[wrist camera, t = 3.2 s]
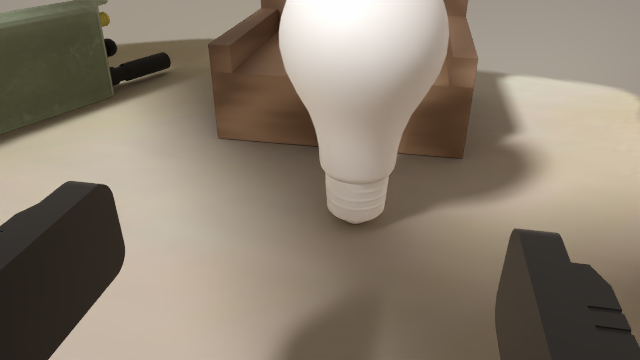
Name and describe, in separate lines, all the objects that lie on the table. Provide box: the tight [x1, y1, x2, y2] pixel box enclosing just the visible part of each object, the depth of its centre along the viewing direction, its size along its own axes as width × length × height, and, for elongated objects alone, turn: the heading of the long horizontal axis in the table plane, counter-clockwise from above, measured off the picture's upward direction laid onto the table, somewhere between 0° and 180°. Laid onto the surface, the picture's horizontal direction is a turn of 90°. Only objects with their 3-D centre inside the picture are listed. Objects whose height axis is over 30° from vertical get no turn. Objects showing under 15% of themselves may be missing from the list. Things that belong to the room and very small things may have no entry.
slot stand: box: [208, 0, 478, 158], centre depth 32 cm, size 14×11×8 cm
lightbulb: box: [279, 0, 449, 224], centre depth 20 cm, size 6×6×11 cm
